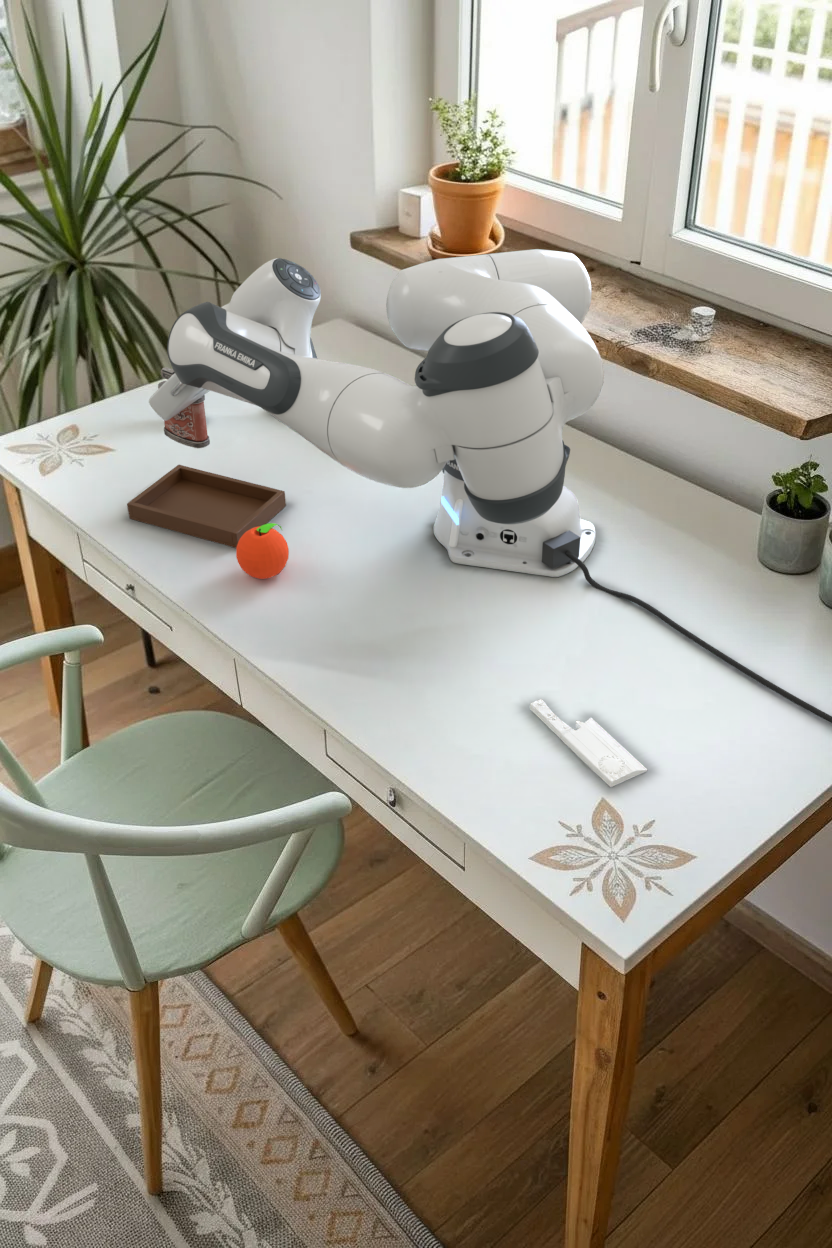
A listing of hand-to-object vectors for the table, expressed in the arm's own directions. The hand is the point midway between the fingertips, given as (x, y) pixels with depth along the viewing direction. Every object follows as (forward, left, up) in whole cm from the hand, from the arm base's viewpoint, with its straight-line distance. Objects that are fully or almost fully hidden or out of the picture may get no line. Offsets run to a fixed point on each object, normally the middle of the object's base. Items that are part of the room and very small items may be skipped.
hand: (180, 401), depth 169 cm
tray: (-4, +2, -16) cm, 16 cm away
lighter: (0, 0, -6) cm, 6 cm away
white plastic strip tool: (-70, +25, -16) cm, 76 cm away
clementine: (-20, +12, -16) cm, 28 cm away
